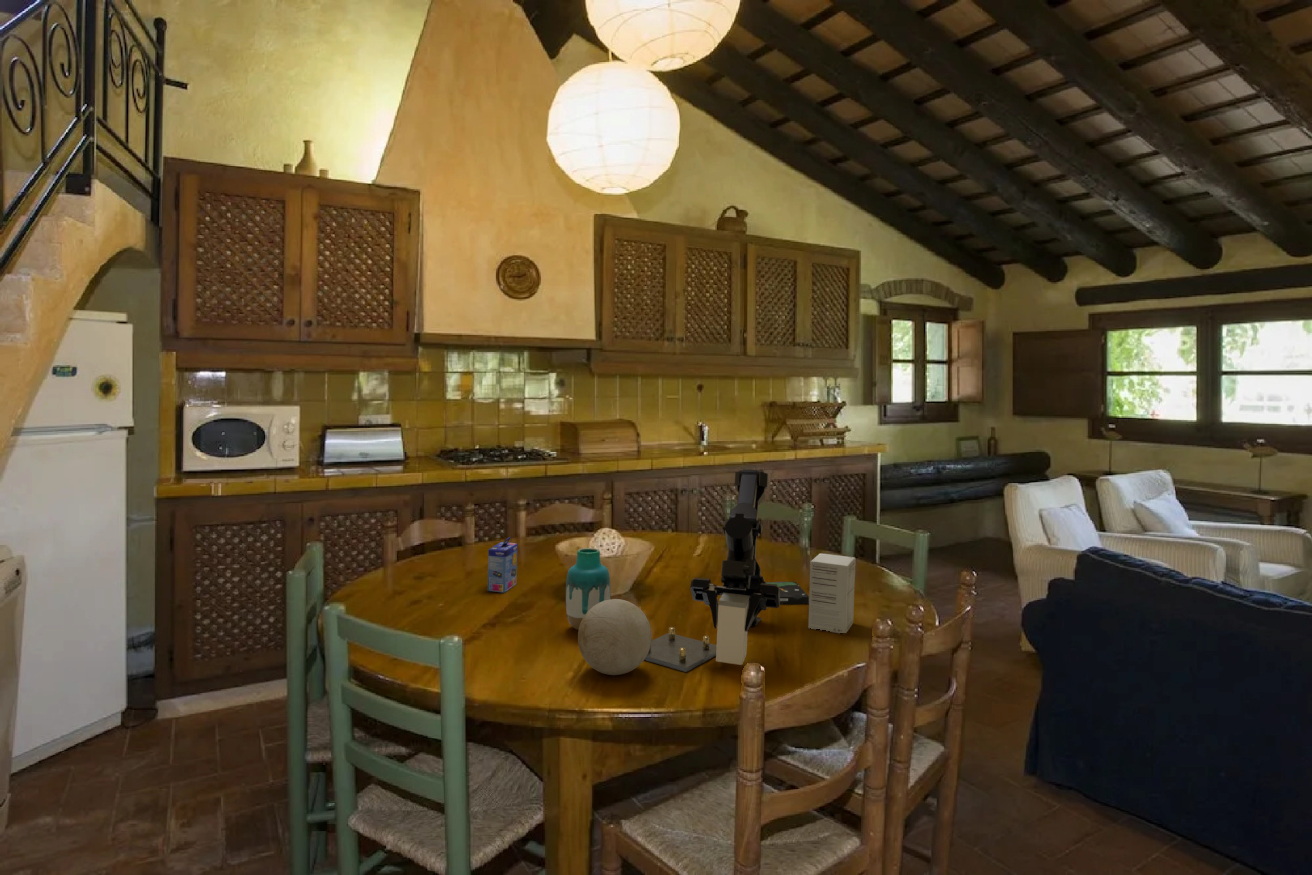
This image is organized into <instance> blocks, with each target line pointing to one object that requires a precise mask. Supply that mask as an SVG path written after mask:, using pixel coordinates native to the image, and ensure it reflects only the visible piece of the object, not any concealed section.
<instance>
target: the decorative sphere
mask: <svg viewBox="0 0 1312 875" xmlns="http://www.w3.org/2000/svg"><path fill="white" fill-rule="evenodd" d="M651 641H652V628H651V624H650V622H649V620H648V618H647V616H646V614H645V613H644V612H643V611H642V609H641V608H640V607H638V606H637V605H636V604H634V603H632V602H630V601H628V600H625V599H620V598H619V599H618V598H612V599H611V598H610V600H605V601H602V602H600V603H598V604H596V605H595V606H593V607H592V608H591V609H590V610H589V611H588V612H587V613H586V614H585V616H584V618H583V619H582V621H581V624H580V626H579V630H578V632H577V643H578V649H579V651H580V653H581V656H582V658H583V659H584V660H585V662H586V663H587V664H588V665H589V667H591V668H592V669H594V670H595V671H597V672H599V673H601V674H605V675H609V676H620V675H624V674H627V673H630V672H632V671H633V670H635V669H636V668H638V667H639V666H640V665H641V664H642V663H643V662H644V661H645V660H644V659H645V657H646V656H647V654H648V652H649V649H650V646H651Z"/></svg>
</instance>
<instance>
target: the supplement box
mask: <svg viewBox="0 0 1312 875" xmlns="http://www.w3.org/2000/svg"><path fill="white" fill-rule="evenodd" d="M855 580H856V557H855V556H854V557H853V556H846V555H839V554H829V553H818V554H817V555H816V556H815V557H814V558H813V559H812V560H810V562H809V590H808V591H809V594H808V596H809V604H808V624H807V625H808V626H807V627H808V628H807V629H810V628H811V630H816V629H820V630H819V631H822V630H826V631H825V632H828V631H830V632H829V633H836V634H840V633H846V634H847V632H848V631H849V630H850V629H851V627H852V625H853V624H854V611H855V610H854V608H855V607H854V606H855V605H854V604H855Z"/></svg>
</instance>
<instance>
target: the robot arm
mask: <svg viewBox="0 0 1312 875" xmlns="http://www.w3.org/2000/svg"><path fill="white" fill-rule="evenodd" d="M769 478H770V477H769V473H767V472H765V471H764V470H758V469H753V468H750V469H745V468H742V469H740V470H739V471H735V472H734V487H735V488H737V502H736V505H735V507H733V508H731V509H730V513H729V515H728V517H729V518H726V520H725V522H724V526H723V534H724V535H725V539H726V546H727V555H726V559H725V560H722V563H721V571H720V572H721V574H720V576H721V577H720V581H721V584H722V585H716V584H715V583H712V581H711V579H710V578H704V577H703V578H702V577H694V578H693V579H692V580H691V581H690V587H689V590H690V592H691V596H692V600H694V601H695V602H703V604H704V605H706V606H708V607H709V609H710V611H711V616H712V622H713V628H714V629H717V627H718V607H719V600H718V596H722V595H723V593H731V594H740V595H748V596H749V610H748V614H747V618H746V624H745V631H746V632H747V631H749V629H750V627H751V628H752V627H753V628H755V627H756V626H757V625H758V624H759V623H760V621H761V620H762V617H761V616H759V614H760V613H761V612H762V611H766V610H767V608H772V609H778V608H780V606H781V605H780V591H779V587H778V585H777V584H766V581H765V579H764V576H763V575H762V570H761V567H760V565H759V563H758V561H757V557H756V556H757V555H756V554H757V542H758V541H757V540H758V538H757V537H760V536H761V535H762V532H763V527H764V526H763V524H762V522H761V520H759V506H760V505H761V503H762V502H763V500H764V499H765V498H766V490H768V489H769ZM747 633H748V632H747Z"/></svg>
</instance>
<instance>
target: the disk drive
mask: <svg viewBox="0 0 1312 875" xmlns="http://www.w3.org/2000/svg"><path fill="white" fill-rule="evenodd" d="M765 582H766V581H765ZM766 584H777V585H778V587H779V591H780V605H779V606H781V605H809V594H807V592H806V591H805V590H804V589H803V588H802V587H801V586H800V585H799V584H798V583H797V582H796V581H775V582H774V581H772V582H770V581H769V582H766Z"/></svg>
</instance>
